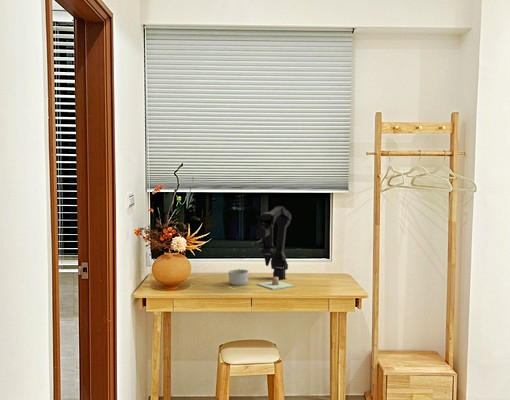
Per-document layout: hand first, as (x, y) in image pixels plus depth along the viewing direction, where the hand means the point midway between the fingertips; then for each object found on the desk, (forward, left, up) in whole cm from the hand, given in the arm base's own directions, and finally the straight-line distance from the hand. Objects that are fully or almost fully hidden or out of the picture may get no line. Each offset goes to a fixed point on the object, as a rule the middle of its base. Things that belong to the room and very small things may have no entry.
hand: (267, 264), depth 318 cm
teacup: (+11, -12, -13) cm, 20 cm away
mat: (-3, +3, -12) cm, 13 cm away
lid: (-3, +3, -12) cm, 13 cm away
